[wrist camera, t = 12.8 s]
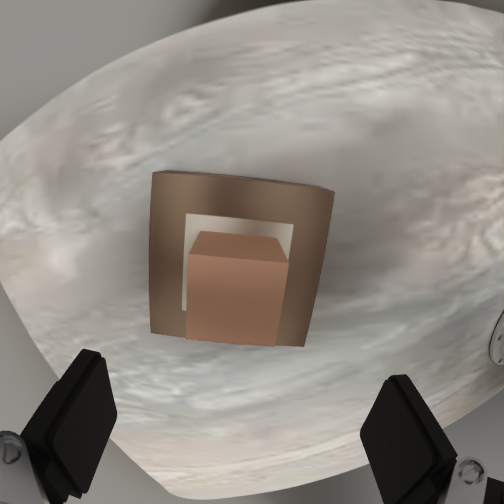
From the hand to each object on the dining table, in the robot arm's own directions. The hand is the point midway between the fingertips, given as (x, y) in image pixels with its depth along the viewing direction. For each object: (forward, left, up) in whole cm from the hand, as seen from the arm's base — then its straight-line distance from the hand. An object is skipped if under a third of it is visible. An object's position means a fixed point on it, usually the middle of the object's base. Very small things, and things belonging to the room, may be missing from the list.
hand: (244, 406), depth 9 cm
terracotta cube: (0, 0, -12) cm, 12 cm away
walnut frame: (0, 0, -16) cm, 16 cm away
